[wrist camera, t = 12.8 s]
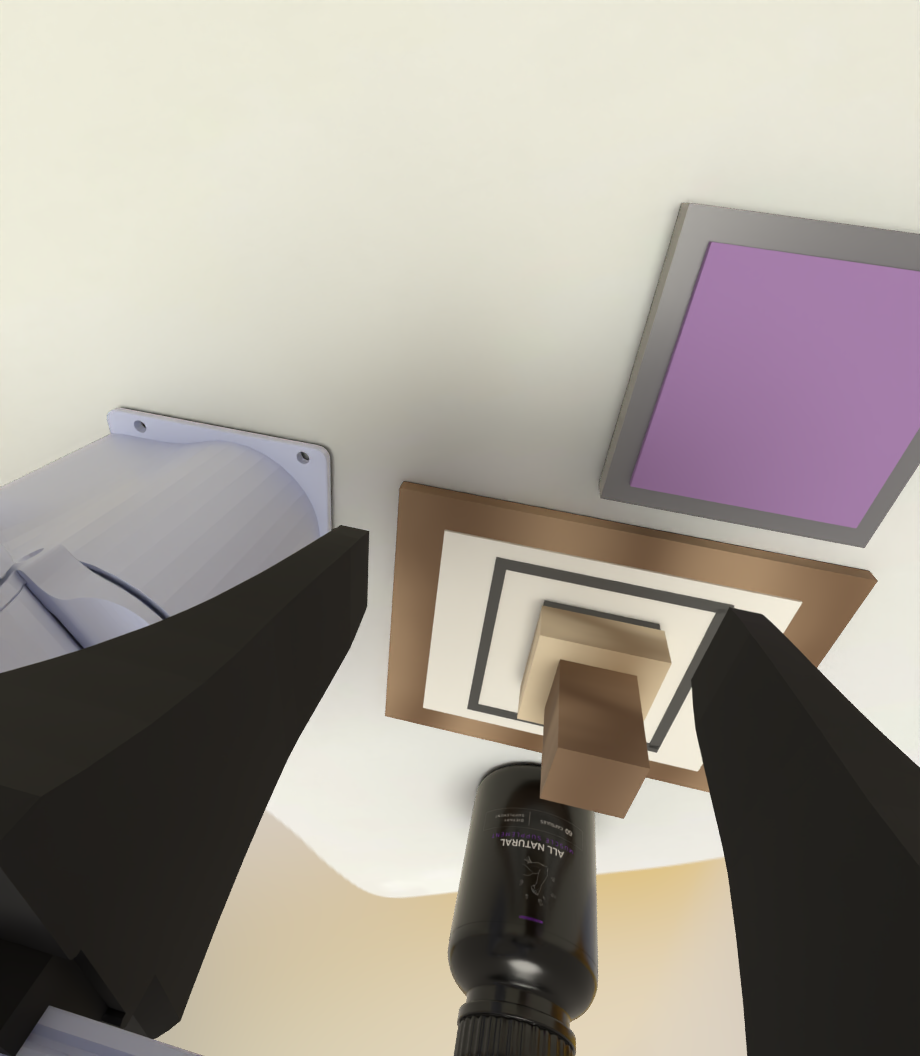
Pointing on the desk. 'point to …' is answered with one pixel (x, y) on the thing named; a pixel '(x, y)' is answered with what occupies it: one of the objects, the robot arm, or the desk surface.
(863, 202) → the desk surface
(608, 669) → the stamp
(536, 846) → the supplement bottle
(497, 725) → the stamp board
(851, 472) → the ink pad
